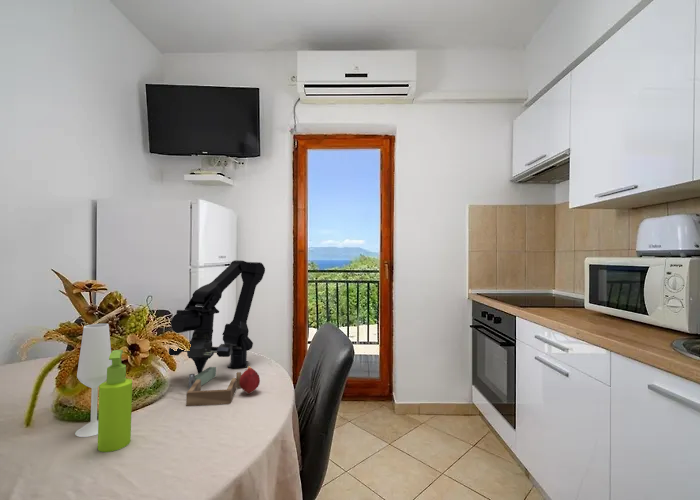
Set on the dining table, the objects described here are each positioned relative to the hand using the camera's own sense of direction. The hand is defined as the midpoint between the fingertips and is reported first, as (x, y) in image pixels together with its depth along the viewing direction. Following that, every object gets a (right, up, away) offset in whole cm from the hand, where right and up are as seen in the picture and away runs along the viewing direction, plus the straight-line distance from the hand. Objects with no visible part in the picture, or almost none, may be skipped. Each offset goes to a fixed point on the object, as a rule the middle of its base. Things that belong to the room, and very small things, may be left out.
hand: (199, 376), depth 113 cm
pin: (+1, -1, -8) cm, 8 cm away
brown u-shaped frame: (+9, -1, -13) cm, 16 cm away
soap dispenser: (-1, -1, -39) cm, 39 cm away
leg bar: (+2, -1, -1) cm, 3 cm away
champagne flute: (-11, -1, -32) cm, 34 cm away
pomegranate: (+19, -2, -10) cm, 22 cm away
